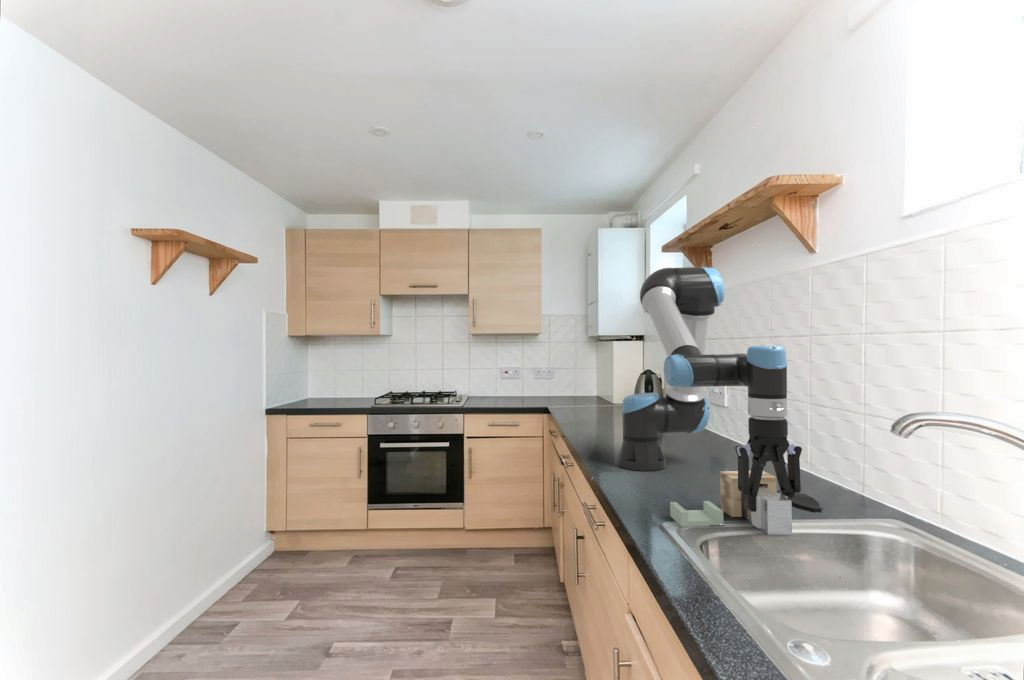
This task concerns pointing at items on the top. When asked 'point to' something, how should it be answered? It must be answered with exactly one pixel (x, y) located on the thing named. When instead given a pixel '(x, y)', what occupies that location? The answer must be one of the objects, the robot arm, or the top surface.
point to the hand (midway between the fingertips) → (769, 525)
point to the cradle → (697, 515)
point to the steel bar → (771, 511)
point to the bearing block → (733, 495)
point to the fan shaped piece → (805, 502)
